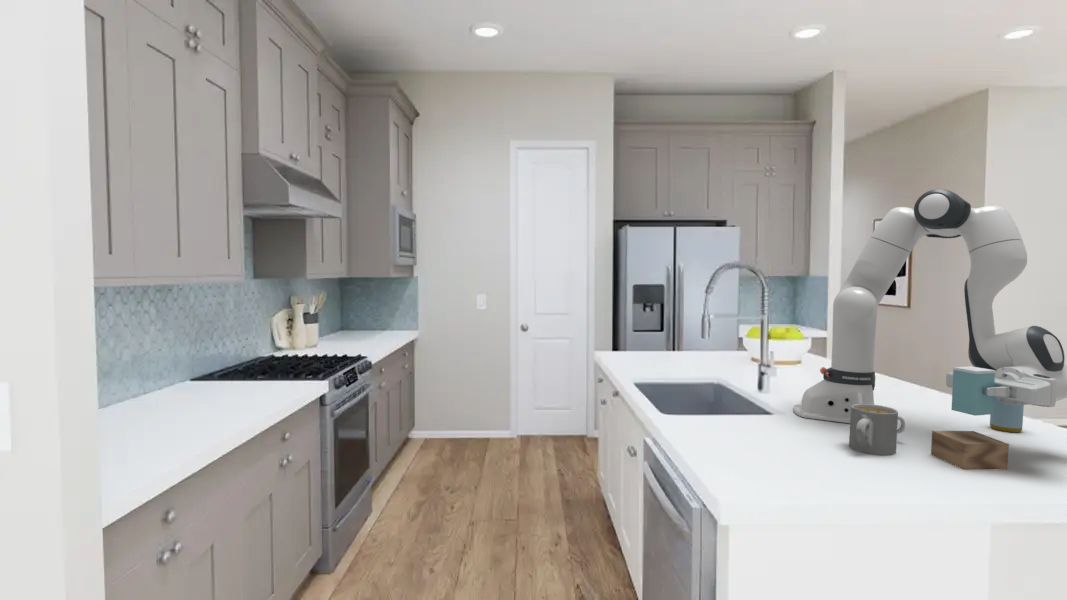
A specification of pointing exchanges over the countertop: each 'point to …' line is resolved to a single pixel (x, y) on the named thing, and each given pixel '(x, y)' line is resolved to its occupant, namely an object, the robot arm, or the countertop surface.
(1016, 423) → the bottle
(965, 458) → the walnut block
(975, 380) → the tea tin
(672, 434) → the countertop surface
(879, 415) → the coffee mug
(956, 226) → the robot arm
